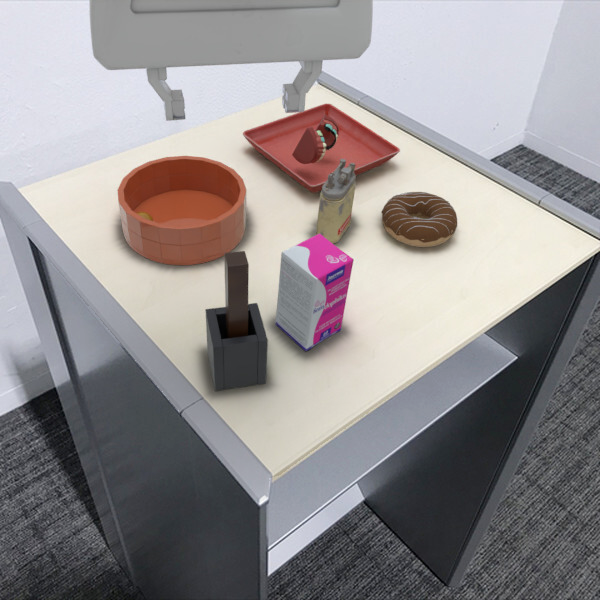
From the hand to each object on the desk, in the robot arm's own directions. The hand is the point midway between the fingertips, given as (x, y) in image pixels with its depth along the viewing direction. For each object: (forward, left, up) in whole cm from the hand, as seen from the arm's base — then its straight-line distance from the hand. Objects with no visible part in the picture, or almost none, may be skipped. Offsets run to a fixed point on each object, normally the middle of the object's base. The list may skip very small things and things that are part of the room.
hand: (235, 113), depth 53 cm
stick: (0, 0, -31) cm, 31 cm away
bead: (-8, +25, -29) cm, 39 cm away
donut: (+29, +21, -31) cm, 48 cm away
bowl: (-3, +27, -31) cm, 41 cm away
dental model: (+21, +39, -25) cm, 51 cm away
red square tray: (+20, +40, -31) cm, 55 cm away
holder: (0, 0, -31) cm, 31 cm away
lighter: (+17, +23, -31) cm, 42 cm away
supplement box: (+9, +5, -31) cm, 33 cm away
